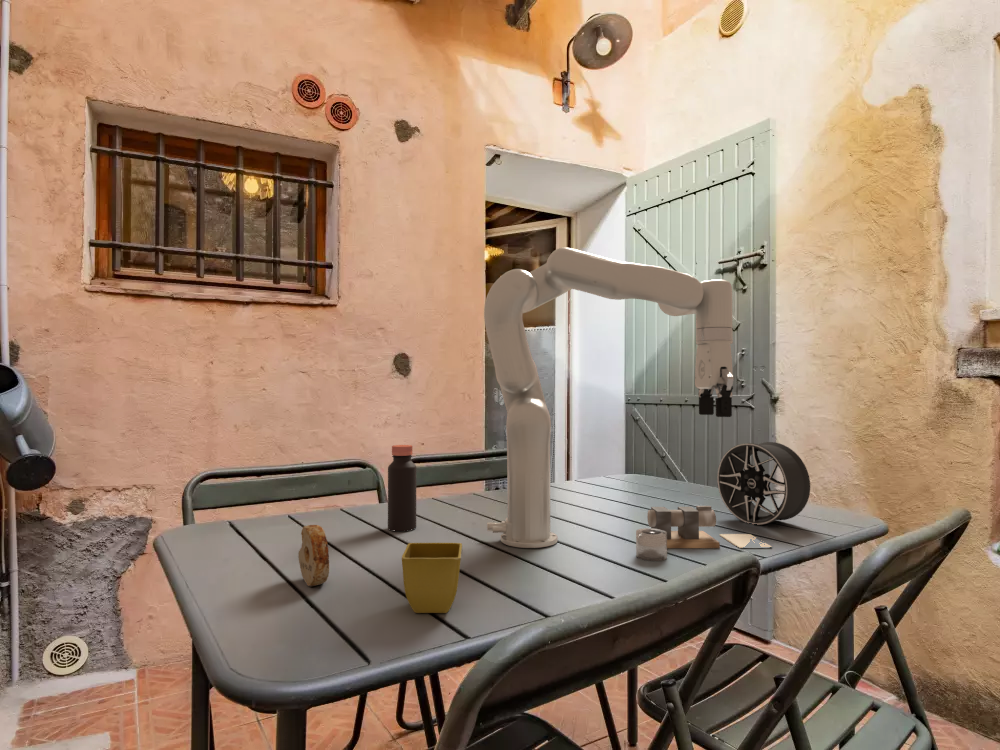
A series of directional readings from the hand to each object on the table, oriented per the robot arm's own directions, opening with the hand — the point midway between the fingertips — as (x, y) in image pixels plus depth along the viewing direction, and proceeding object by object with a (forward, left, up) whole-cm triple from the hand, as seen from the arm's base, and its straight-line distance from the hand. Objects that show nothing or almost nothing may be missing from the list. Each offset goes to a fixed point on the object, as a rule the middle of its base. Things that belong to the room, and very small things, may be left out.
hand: (714, 415), depth 128 cm
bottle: (-70, +15, -28) cm, 77 cm away
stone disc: (-79, -24, -28) cm, 88 cm away
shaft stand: (-7, +2, -28) cm, 29 cm away
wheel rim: (+20, +21, -28) cm, 40 cm away
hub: (-16, -9, -28) cm, 34 cm away
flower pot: (-57, -36, -28) cm, 74 cm away
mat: (+7, +2, -28) cm, 29 cm away
